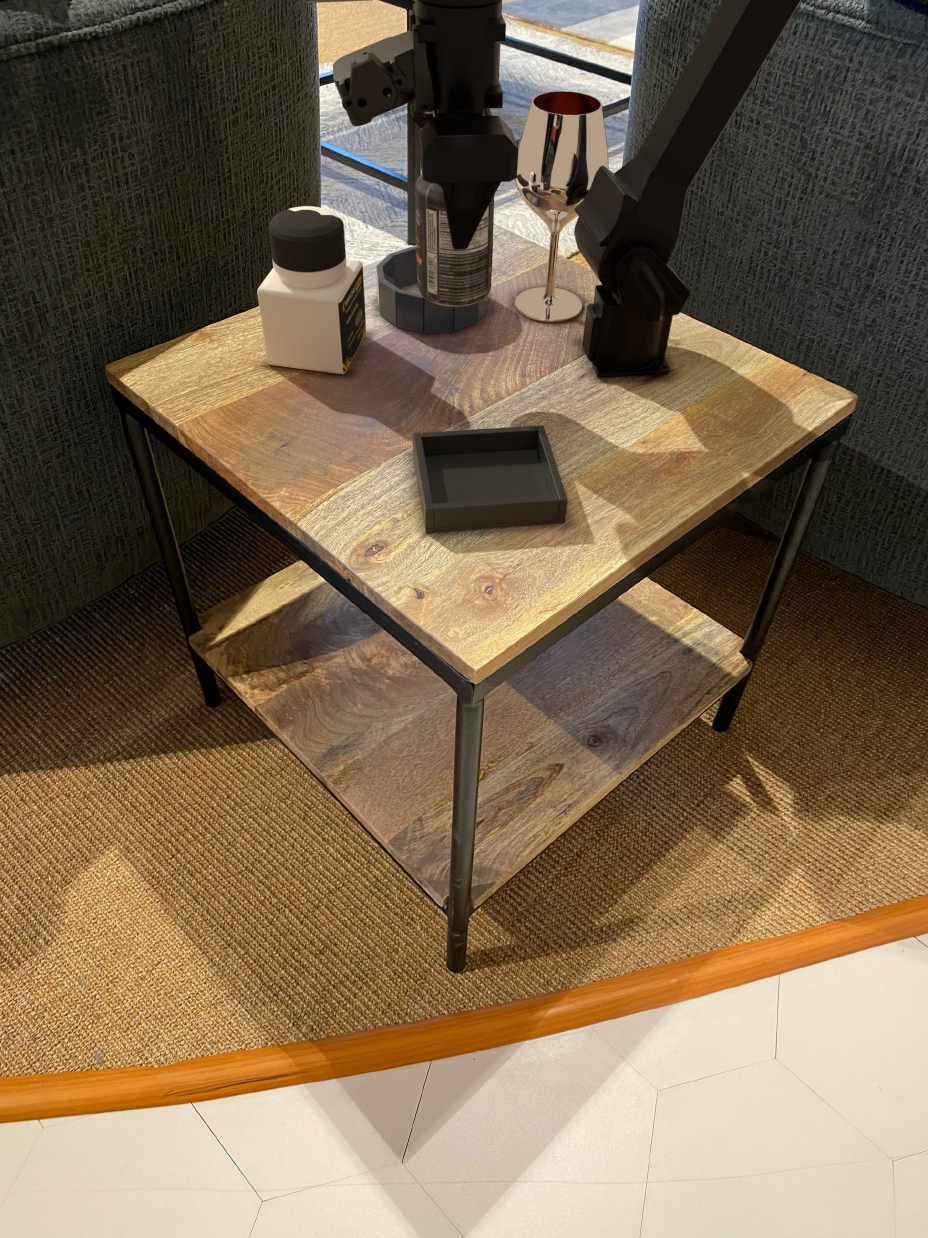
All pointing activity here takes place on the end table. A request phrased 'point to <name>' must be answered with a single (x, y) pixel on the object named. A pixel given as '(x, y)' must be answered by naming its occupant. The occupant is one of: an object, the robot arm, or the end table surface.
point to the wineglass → (558, 182)
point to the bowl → (418, 299)
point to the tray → (488, 479)
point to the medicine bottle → (311, 293)
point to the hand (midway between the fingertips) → (455, 229)
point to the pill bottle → (450, 252)
